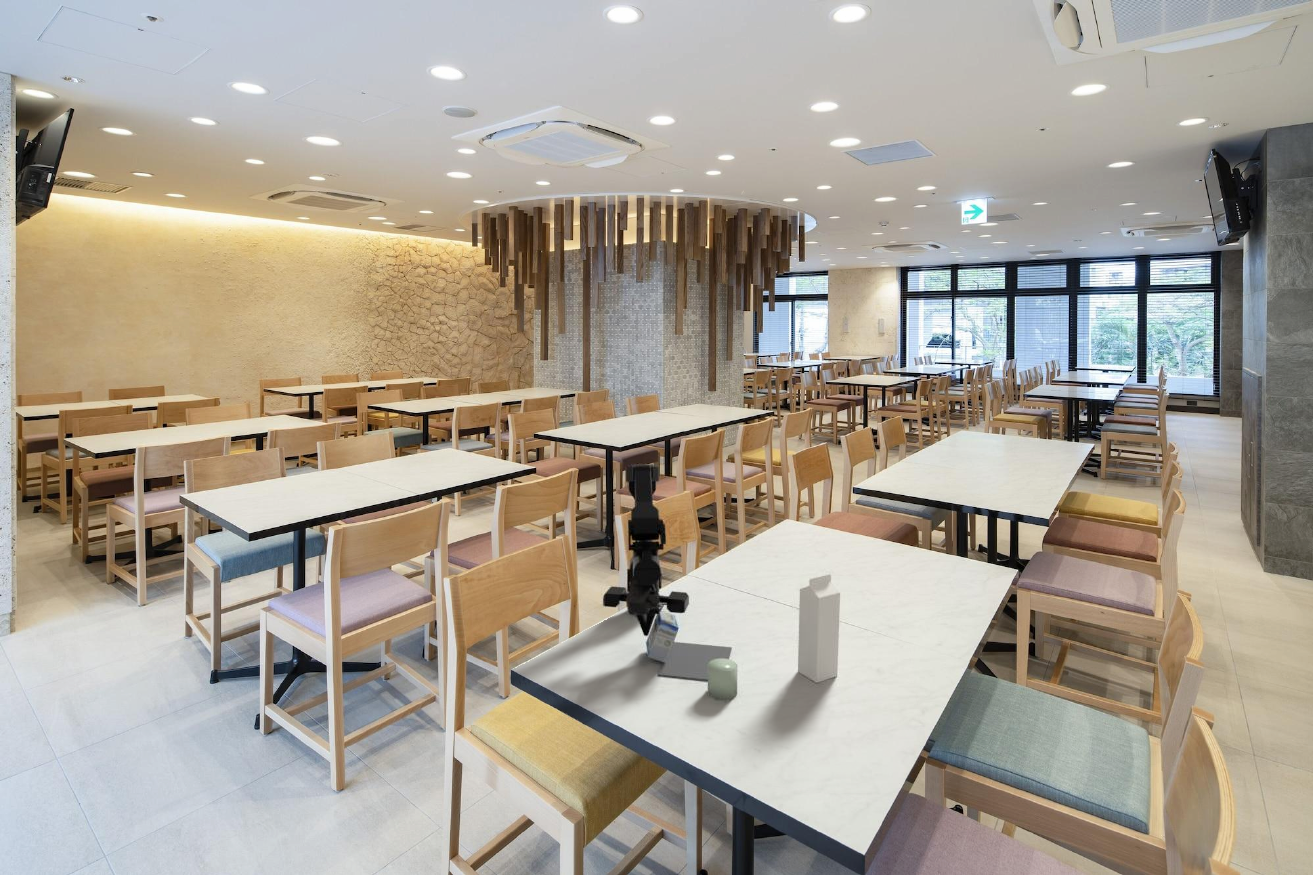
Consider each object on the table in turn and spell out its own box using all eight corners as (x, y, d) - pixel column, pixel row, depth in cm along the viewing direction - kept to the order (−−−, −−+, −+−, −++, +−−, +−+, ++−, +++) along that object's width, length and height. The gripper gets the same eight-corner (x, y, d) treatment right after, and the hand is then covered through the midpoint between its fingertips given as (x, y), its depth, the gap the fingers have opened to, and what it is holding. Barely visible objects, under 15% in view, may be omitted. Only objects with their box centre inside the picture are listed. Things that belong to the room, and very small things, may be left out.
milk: (837, 676, 148) (841, 578, 144) (816, 683, 145) (819, 583, 141) (817, 664, 153) (821, 569, 150) (796, 671, 150) (800, 574, 147)
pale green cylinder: (705, 698, 139) (705, 670, 138) (710, 683, 145) (710, 657, 144) (735, 702, 138) (735, 674, 137) (738, 686, 144) (739, 660, 143)
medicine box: (645, 643, 161) (657, 609, 160) (663, 649, 161) (675, 614, 160) (647, 657, 153) (660, 621, 152) (666, 663, 153) (679, 627, 153)
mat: (657, 675, 149) (657, 674, 149) (672, 642, 164) (672, 641, 164) (722, 682, 146) (722, 681, 146) (731, 648, 161) (731, 647, 161)
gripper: (594, 578, 149) (595, 646, 151) (679, 585, 144) (679, 655, 147) (609, 561, 159) (611, 625, 162) (689, 567, 155) (689, 633, 157)
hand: (646, 635), depth 157 cm, fingers closed
